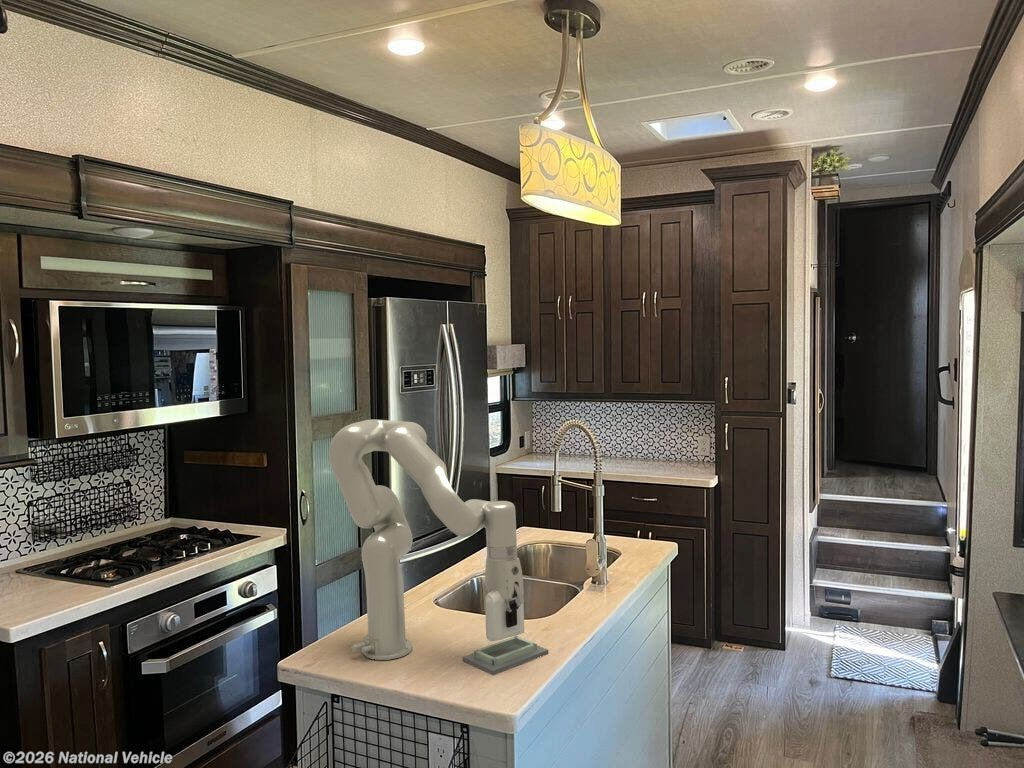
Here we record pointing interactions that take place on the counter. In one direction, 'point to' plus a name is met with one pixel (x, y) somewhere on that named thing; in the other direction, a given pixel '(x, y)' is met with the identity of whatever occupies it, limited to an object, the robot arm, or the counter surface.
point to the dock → (505, 655)
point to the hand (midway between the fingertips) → (504, 622)
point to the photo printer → (501, 618)
